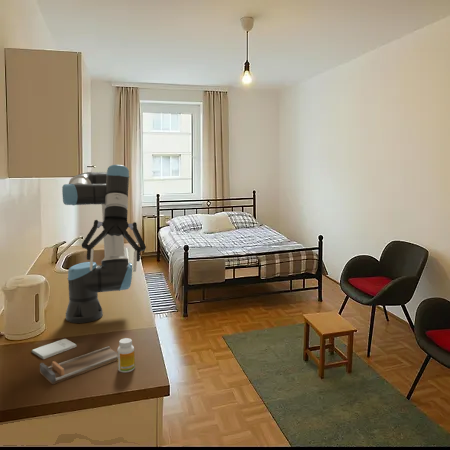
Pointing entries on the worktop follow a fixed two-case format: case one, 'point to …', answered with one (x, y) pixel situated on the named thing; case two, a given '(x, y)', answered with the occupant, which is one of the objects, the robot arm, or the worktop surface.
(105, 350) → the rail board
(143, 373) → the worktop surface
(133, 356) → the supplement bottle
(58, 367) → the latch plate
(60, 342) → the external hard drive
